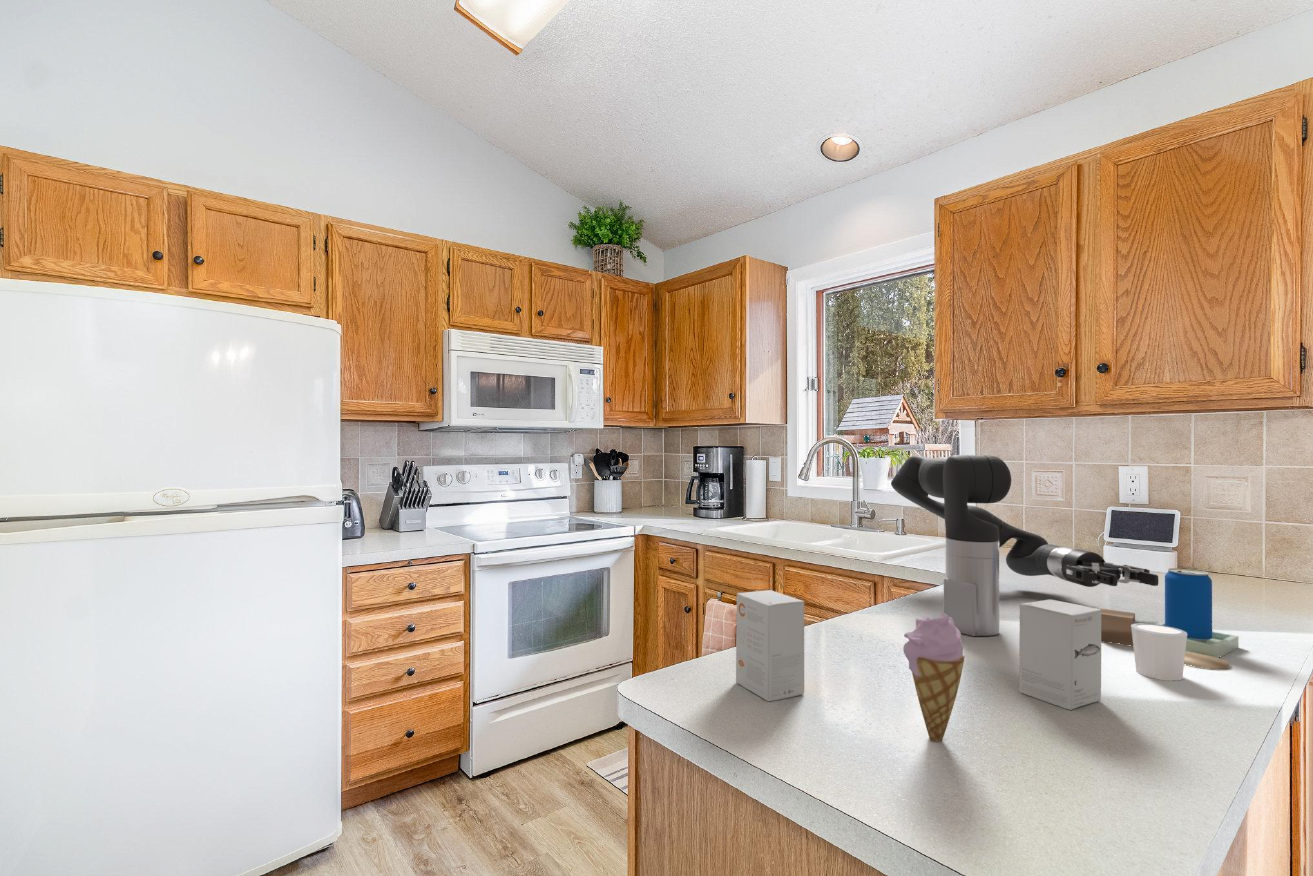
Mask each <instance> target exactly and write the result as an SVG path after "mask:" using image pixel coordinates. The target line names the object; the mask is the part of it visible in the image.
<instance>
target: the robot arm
mask: <svg viewBox="0 0 1313 876" xmlns="http://www.w3.org/2000/svg"><path fill="white" fill-rule="evenodd" d="M890 486H891V487H892V489H893V490H894V491H896V492H897V493H898V494H899V495H900V496H902V497H903V498H905V499H907V500H908V501H910V502H912V503H913V504H914V505H915V504H916V505H917V506H918V507H921V508H922V509H924V510H926V511H928V512H930V513H932V514H933V515H936V516H938V517H940V518H941V519H943V520H944V527H945V528H944V529H945V578H944V579H943V613H944V614H946V615H947V616H948V617H951V618H952V619H953V622H954V626H955V627H956V628H957V629H958V630H959V631H960V633H961V634H963V635H967V636H971V637H978V636H980V637H981V636H984V637H985V636H987V637H989V636H995V635H998V634H1000V548H1001V547H1002V546H1004V545H1005V544H1006V543H1007V542H1008V541H1010V540H1011V539H1014V540H1015V542H1014V544H1013V545H1012V547H1011V549H1010V550H1009V551H1008V553H1007V555H1006V557H1005V563H1006V565H1007V567H1008V568H1009V569H1010V570H1012V572H1014V573H1016V574H1019V575H1021V576H1027V577H1037V576H1046V575H1048V576H1052V577H1056V578H1058V579H1060V580H1063V581H1065V582H1069V583H1073V584H1077V585H1079V586H1083V587H1086V588H1087V587H1088V588H1094V587H1098V585H1100V584H1103V585H1107V586H1110V587H1117V586H1118V583H1121V584H1129V583H1139V584H1143V585H1148V586H1153V587H1158V586H1159V575H1158V574H1156V573H1155V574H1154V573H1150V569H1148V568H1141V567H1137V566H1132V565H1128V564H1122V565H1120V564H1114V563H1112V562H1106V560H1105V559H1104V557H1102V556H1101V554H1099V553H1098V552H1097V553H1096V552H1093V551H1088V550H1085V549H1084V550H1083V549H1080V548H1076V547H1075V548H1074V547H1068V546H1067V547H1065V546H1059V545H1055V544H1049V542H1048V541H1047V540H1046V539H1045V538H1044V537H1042V536H1041V535H1038V534H1035V533H1032V532H1029V531H1026V530H1023V529H1020V528H1018V527H1015V526H1013V525H1011V524H1009V523H1007V522H1005V521H1004V520H1002V519H1001V518H999V517H998V516H996V515H994V514H993V513H991V512H990V511H988V510H986V509H984V508H982V507H980V506H975V505H968V504H995V503H998V502H1001V501H1002V500H1003V499H1005V497H1007V495H1008V494H1009V492H1010V489H1011V486H1012V474H1011V471H1010V468H1009V466H1008V465H1007V464H1006V462H1005V461H1004V460H1003V459H1001V458H1000V457H998V456H995V455H990V454H989V455H988V454H987V455H984V454H953V455H950V456H943V457H940V456H939V457H928V456H927V457H926V456H922V455H911V456H909V457H908V458H907V459H906V460H905V461H904V462H903V464H902V465H901V467H900V469H898V471H897V473H896V474H895V475H894V477H893V478H892V480H891V483H890ZM930 496H932V497H933V498H934V497H935V498H939V499H943V501H944V502H939V501H937V500H934V499H932V498H930ZM1121 576H1122V577H1121ZM1122 578H1124V579H1122Z"/></svg>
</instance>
